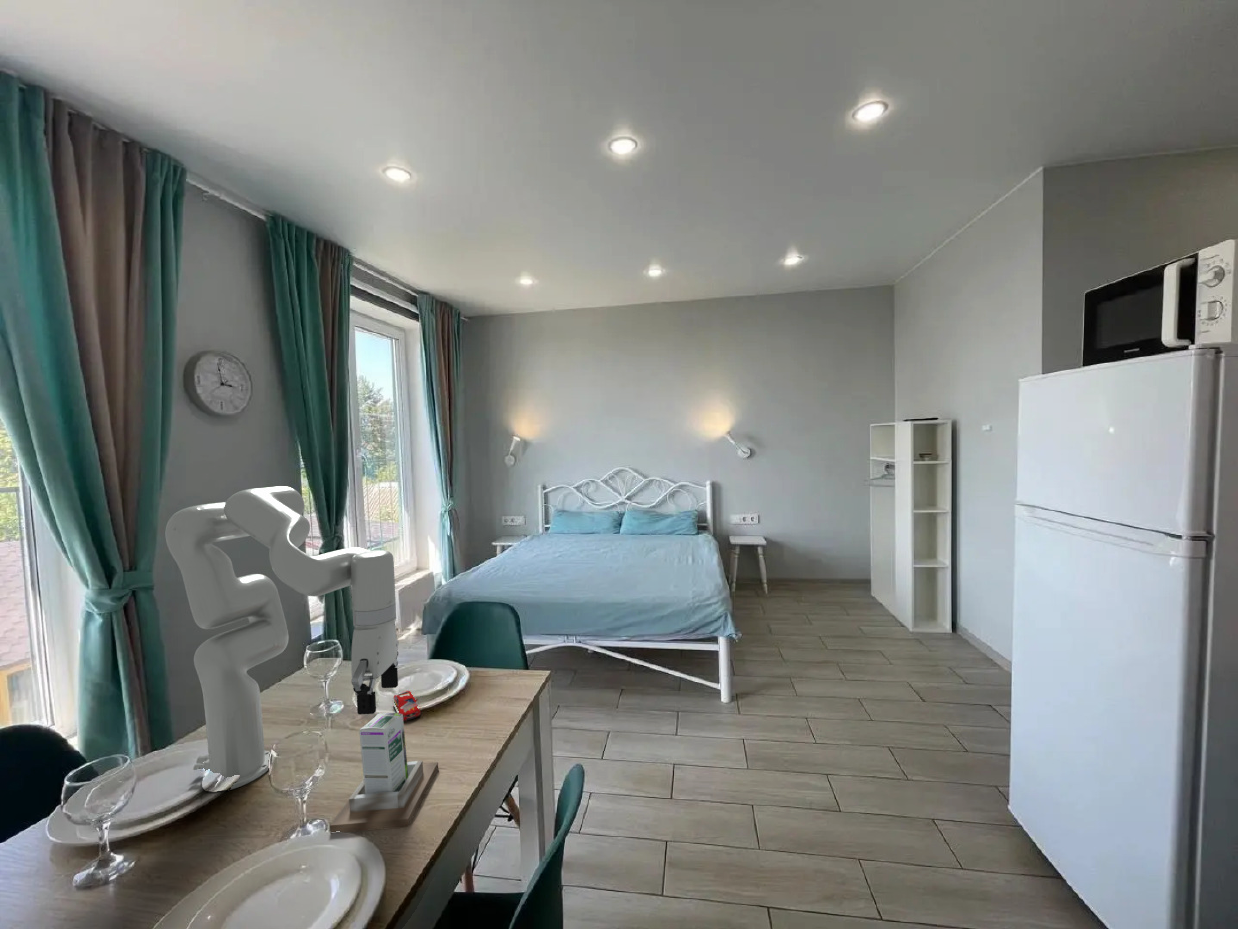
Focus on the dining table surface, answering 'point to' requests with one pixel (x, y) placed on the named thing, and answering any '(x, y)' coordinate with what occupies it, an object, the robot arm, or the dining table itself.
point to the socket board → (386, 803)
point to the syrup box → (384, 753)
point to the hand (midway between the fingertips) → (379, 699)
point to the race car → (406, 705)
